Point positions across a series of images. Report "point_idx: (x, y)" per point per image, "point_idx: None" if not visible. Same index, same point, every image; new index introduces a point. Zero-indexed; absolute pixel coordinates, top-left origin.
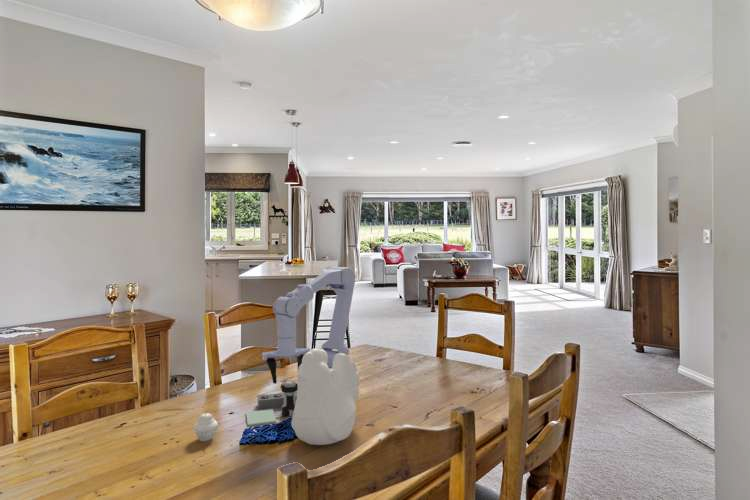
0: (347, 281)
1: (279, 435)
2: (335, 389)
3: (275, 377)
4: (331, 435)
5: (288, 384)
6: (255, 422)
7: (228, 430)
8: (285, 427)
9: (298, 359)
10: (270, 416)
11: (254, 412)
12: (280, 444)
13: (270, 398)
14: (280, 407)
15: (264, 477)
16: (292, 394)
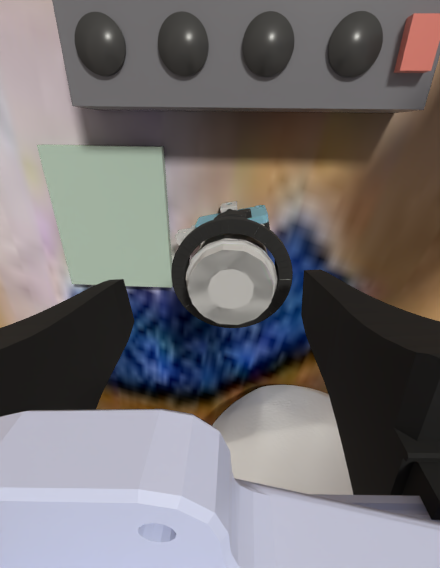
0: None
1: (179, 368)
2: None
3: (112, 359)
4: None
5: (218, 321)
6: (98, 277)
7: (18, 289)
8: (201, 326)
9: (376, 412)
10: (151, 239)
11: (78, 166)
12: (178, 409)
13: (138, 87)
14: (204, 110)
15: None
16: (282, 63)
